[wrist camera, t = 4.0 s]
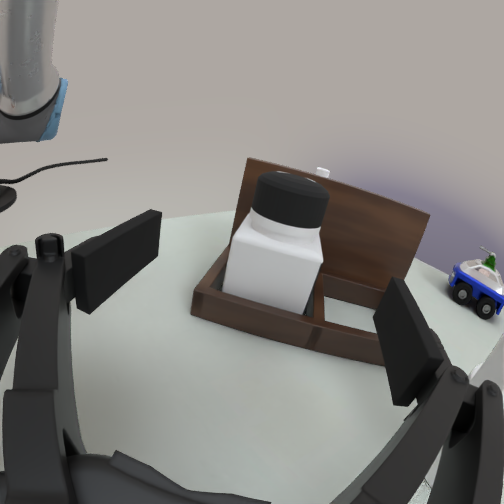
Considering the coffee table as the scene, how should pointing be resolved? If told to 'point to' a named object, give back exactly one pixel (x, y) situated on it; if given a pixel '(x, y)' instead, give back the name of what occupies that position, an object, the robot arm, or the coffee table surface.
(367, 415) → the coffee table surface
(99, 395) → the coffee table surface
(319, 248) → the medicine bottle
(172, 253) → the coffee table surface
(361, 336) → the rack
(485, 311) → the toy car
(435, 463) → the base with upright slab
